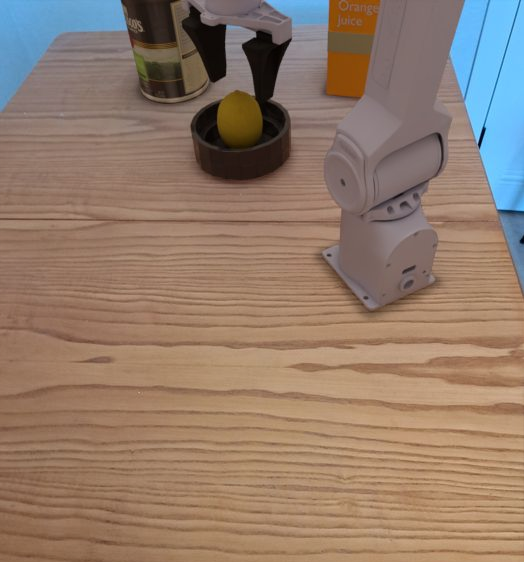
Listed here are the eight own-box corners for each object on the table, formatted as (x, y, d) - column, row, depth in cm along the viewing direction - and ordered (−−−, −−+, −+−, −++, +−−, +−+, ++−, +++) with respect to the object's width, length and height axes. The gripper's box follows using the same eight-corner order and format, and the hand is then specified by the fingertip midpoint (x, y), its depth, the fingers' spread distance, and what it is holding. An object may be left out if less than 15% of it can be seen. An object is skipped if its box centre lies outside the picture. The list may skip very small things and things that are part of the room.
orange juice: (325, 94, 81) (329, -75, 65) (338, 63, 86) (346, -100, 70) (380, 99, 79) (399, -72, 63) (391, 68, 84) (410, -99, 68)
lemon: (266, 138, 74) (262, 78, 68) (262, 164, 71) (257, 103, 65) (224, 138, 75) (216, 78, 69) (218, 164, 72) (209, 103, 65)
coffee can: (153, 111, 81) (129, 3, 70) (132, 79, 87) (106, -26, 76) (220, 91, 83) (207, -17, 72) (195, 61, 89) (179, -43, 78)
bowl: (308, 163, 72) (308, 130, 68) (220, 195, 69) (215, 163, 65) (263, 117, 78) (261, 85, 75) (181, 145, 76) (175, 113, 72)
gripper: (149, -48, 57) (174, 84, 68) (254, -15, 51) (263, 125, 62) (200, -70, 60) (216, 60, 71) (305, -41, 54) (305, 97, 65)
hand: (241, 88), depth 67 cm, fingers open, 7 cm apart
